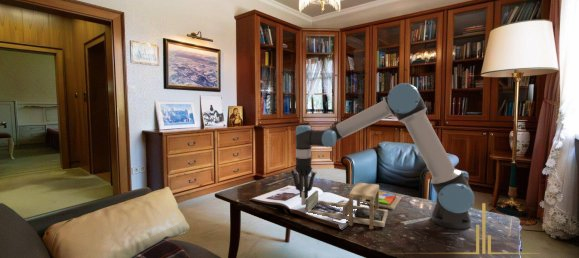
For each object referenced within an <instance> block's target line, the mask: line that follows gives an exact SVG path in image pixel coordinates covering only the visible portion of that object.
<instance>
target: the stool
mask: <svg viewBox="0 0 579 258" xmlns="http://www.w3.org/2000/svg"><path fill="white" fill-rule="evenodd" d="M379 192H380V184H376V183H367V182H357V183H355V185H354V186H353V188H352V189H351V190H350V192H349V193H348V195H349V196H348V201H349V221H348V226H351V227H352V226H353V225H354V222H353V217H354V212H353V205H354V199H356V206H361V203H360V201H361V199H368V200H370V205H369V208H370V225H368V226H369V230H373V229H374V226H373V223H374V208H375V209H380V207H379ZM374 198H375V206H374Z"/></svg>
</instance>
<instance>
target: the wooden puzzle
mask: <svg viewBox="0 0 579 258" xmlns="http://www.w3.org/2000/svg"><path fill="white" fill-rule="evenodd" d="M402 199H403V198H402V197H401V196H397V195H396V194H392V193H391V194H390V193H386V192H381V191H379V208H382V209H383V208H384V209H386V210H391V211H392V210H394V209H396V208H397V206H398V205H399V203H400V201H401V200H402ZM360 202H363V203H367V204H366V205H368V206H370V200H368V199H362V200H361V199H360ZM363 203H362V204H363ZM374 207H375V198H374Z"/></svg>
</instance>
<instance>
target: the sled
mask: <svg viewBox="0 0 579 258" xmlns="http://www.w3.org/2000/svg"><path fill="white" fill-rule="evenodd" d="M317 203H320V204H326V205H331V206H336V207H343V215H339V214H337V213H332V212H326V211H318V210H314V209H313V210H311V209H312V208H313V207H314V206H315V205H316V204H317ZM353 209H370V207H367V206H361V205H360V206H357V205H354V204H353ZM374 211H375V212H376V213H378V214H379V215H383V216H382V221H377V220H374V223H373V227H374V226H375V227H379V228H380V227H381V228H385V225H386V222H387V219H388V215H389V213H388V212H389V209H383V208H382V209H381V208H379V209H375V207H374ZM306 212H308V213H313V214H317V215H322V216H328V217H333V218H339V219H346V220H348V222H349V216H347V214H348V213H349V200H347V202H346V203H338V202H332V201H324V200H319V190H315V191H314V192H312V193H311V194H310V195H308V198H306V204H305V213H306ZM353 223H355V224H356V223H357V224H362V225H368V226H370V219H364V218H358V217H355V216H353Z"/></svg>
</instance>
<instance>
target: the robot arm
mask: <svg viewBox="0 0 579 258" xmlns="http://www.w3.org/2000/svg"><path fill="white" fill-rule="evenodd" d="M427 109H428V108H427V106H426V104H425V101H424V100H423V98H422V96H421V94H420V92H419V89H418V88H417V87H416V86H415V85H413V84H410V83H408V82H402V83H398V84H397V85H395V86H393V87H392V88H391V89H390V90H389V92H388V95H387V96H385V97H384V98H383V100H382V101H380V102H378V103H375V104H373V105H372V106H370V107H368V108H366V109H363V110H362V111H360V112H358V113H357V114H354V115H352V116H351V117H349V118H346V119H345V120H342V121H340V122H339V123H336V124H335V125H331V126H330V127H329V128H325V129H321V130H319V129H312V127H311V125H308V124H307V125H306V124H305V125H297V126H296V127H295V165H296V166H295V168H294V169H292V170H290V173H291V175H292V178H293V183H294V185H295V186H294V187H295V190H297V191H298V192H299V198H301V200H300V201H301V205H302V206H306V199H307V198H308V197H309V192H310V191H312V190H313V185H314V182H315V181H314V180H315V177H316V176H317V171H315V170H313V168H312V147H315V146H316V147H326V148H330V147H331V148H333V147H335V146H336V143H337V142H338V141H339V140H342V139H344V138H345V137H348V136H350V135H352V134H354V133H356V132H358V131H360V130H362V129H364V128H367V127H369V126H371V125H373V124H375V123H377V122H379V121H382V120H384V119H385V118H387V117H390V116H393V117H394V116H395V117H396V119H397V121H398V122H399V123H403V124H404V125H405V127H406V129H407V131H408V133H409V135H410V137H411V139H412V140H413V143H414V145H415V147H416V148H417V151H418V152H419V155H420V156H421V157H422V159H423V161H424V163H425V165H426V168H427V170H428V171H429V173H430V175H431V180H430V183H431V186H432V187H433V189H434V191H435V194H436V201H435V204H434V207H433V209H432V211H431V214H430V219H431V221H432V222H434V223H435V224H436V225H439V226H442V227H444V228H448V229H454V230H455V229H456V230H457V229H458V230H464V229H469V228H470V227H472V219H471V215H470V213H469V210H471V209H472V208H473V206H474V204H475V193H474V191H473V190H472V188H471V186H470V184H469V179H470V177H469V172H467V171H465V170H459V169H457V168H456V167H455V166H454V164H453V163H452V161H451V159H450V157H449V155H448V154H447V152H446V149H445V148H444V146H443V145H442V142H441V140H440V139H439V137H438V135H437V133H436V131H435V130H434V127H433V126H432V123H431V122H430V120H429V118H428V116H427V114H426V113H427ZM309 175H311V176H310V179H309Z"/></svg>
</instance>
